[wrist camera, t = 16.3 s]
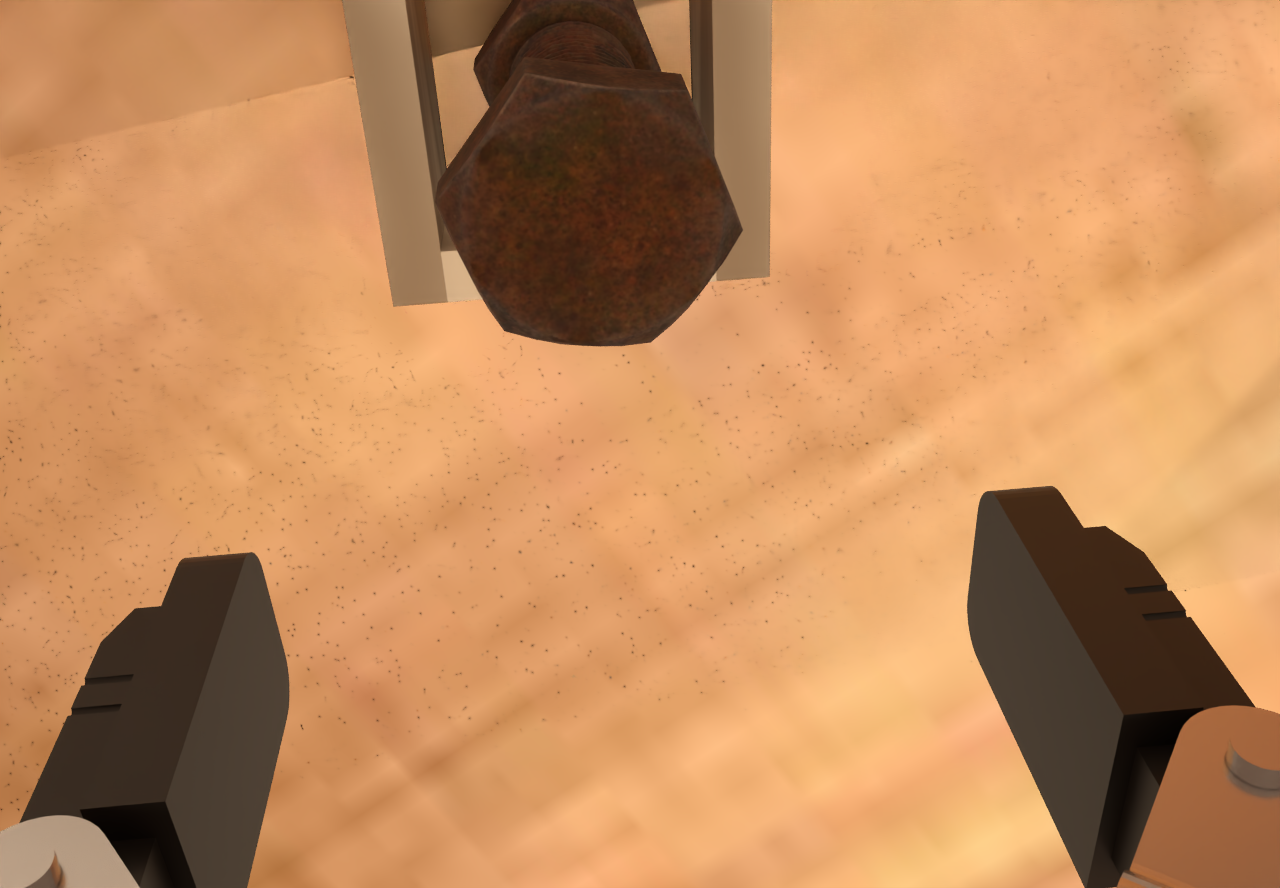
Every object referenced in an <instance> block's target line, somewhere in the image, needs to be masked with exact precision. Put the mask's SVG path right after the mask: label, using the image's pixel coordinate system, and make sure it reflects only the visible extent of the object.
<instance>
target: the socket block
mask: <svg viewBox="0 0 1280 888" xmlns="http://www.w3.org/2000/svg"><path fill="white" fill-rule="evenodd" d="M342 3H343V9H344V15H345V21H346V27H347V33H348V39H349V45H350V51H351V57H352V63H353V69H354V75H355V81H356V87H357V93H358V99H359V104H360V110H361V116H362V122H363V128H364V134H365V140H366V146H367V152H368V158H369V164H370V170H371V176H372V182H373V188H374V194H375V200H376V206H377V212H378V218H379V224H380V230H381V235H382V241H383V247H384V253H385V259H386V265H387V271H388V277H389V283H390V289H391V295H392V301H393V307H395V306H407V305H420V304H433V303H445V302H458V301H471V300H483V299H482V297H481V296H480V294H479V292H478V291H477V289H476V287H475V285H474V283H473V281H472V279H471V277H470V275H469V273H468V271H467V269H466V267H465V265H464V263H463V261H462V259H461V258H460V256H459V254H458V252H457V250H456V248H455V246H454V244H453V242H452V240H451V238H450V236H449V234H448V232H447V229H446V227H445V224H444V222H443V220H442V217H441V215H440V213H439V210H438V208H437V206H436V203H435V198H436V191H437V184H438V181H439V180H440V178H441V177H442V175H443V174H444V172H445V171H446V169H447V166H446V159H445V151H444V144H443V136H442V129H441V122H440V114H439V107H438V99H437V92H436V84H435V77H434V69H433V62H432V54H431V47H430V39H429V32H428V25H427V17H426V10H425V2H424V0H342ZM689 11H690V51H691V91H692V101H693V104H694V106H695V109H696V111H697V113H698V116H699V118H700V121H701V123H702V126H703V128H704V131H705V133H706V136H707V138H708V141H709V143H710V146H711V148H712V151H713V153H714V156H715V158H716V161H717V164H718V166H719V169H720V171H721V174H722V176H723V179H724V181H725V184H726V186H727V189H728V191H729V194H730V196H731V199H732V201H733V204H734V206H735V209H736V212H737V215H738V217H739V220H740V223H741V226H742V228H743V231H742V233H741V235H740V236H739V238H738V240H737V241H736V243H735V245H734V246H733V248H732V250H731V251H730V253H729V255H728V256H727V258H726V260H725V261H724V262H723V264H722V265H721V266H720V268H719V269H718V270H717V272H716V273H715V274H714V276H713V277H712V278H711V280H710V281H709V282H712V281H725V280H738V279H750V278H763V277H770V180H771V71H772V0H689Z"/></svg>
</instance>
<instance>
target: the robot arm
mask: <svg viewBox="0 0 1280 888" xmlns="http://www.w3.org/2000/svg"><path fill="white" fill-rule="evenodd" d="M967 613H968V625H969V631H970V636H971V641H972V645H973V648H974V651H975V654H976V656H977V659H978V661H979V663H980V665H981V667H982V669H983V671H984V674H985V676H986V678H987V680H988V682H989V684H990V686H991V688H992V691H993V693H994V695H995V697H996V699H997V701H998V703H999V706H1000V708H1001V710H1002V712H1003V714H1004V716H1005V718H1006V721H1007V723H1008V725H1009V727H1010V729H1011V731H1012V733H1013V735H1014V738H1015V740H1016V742H1017V744H1018V746H1019V748H1020V750H1021V753H1022V755H1023V757H1024V759H1025V761H1026V763H1027V765H1028V768H1029V770H1030V772H1031V774H1032V776H1033V778H1034V780H1035V782H1036V785H1037V787H1038V789H1039V791H1040V793H1041V795H1042V797H1043V800H1044V802H1045V804H1046V806H1047V808H1048V810H1049V812H1050V815H1051V817H1052V819H1053V821H1054V823H1055V825H1056V827H1057V830H1058V832H1059V834H1060V836H1061V838H1062V840H1063V842H1064V844H1065V847H1066V849H1067V851H1068V853H1069V855H1070V857H1071V859H1072V862H1073V864H1074V866H1075V868H1076V870H1077V872H1078V874H1079V877H1080V879H1081V881H1082V883H1083V885H1084V887H1085V888H1113V887H1117V888H1280V714H1278V713H1275V712H1272V711H1268V710H1264V709H1261V708H1256V707H1255V706H1254V704H1253V703H1252V702H1251V700H1250V699H1249V697H1248V696H1247V695H1246V693H1245V692H1244V690H1243V689H1242V688H1241V686H1240V685H1239V684H1238V682H1237V681H1236V679H1235V678H1234V677H1233V675H1232V674H1231V672H1230V671H1229V670H1228V668H1227V667H1226V665H1225V664H1224V663H1223V661H1222V660H1221V659H1220V657H1219V656H1218V654H1217V653H1216V652H1215V650H1214V649H1213V647H1212V646H1211V645H1210V643H1209V642H1208V641H1207V639H1206V638H1205V636H1204V635H1203V634H1202V632H1201V631H1200V629H1199V628H1198V627H1197V625H1196V624H1195V622H1194V621H1193V620H1192V618H1191V617H1187V616H1186V610H1185V609H1184V607H1183V606H1182V604H1181V603H1180V602H1179V600H1178V599H1177V597H1176V596H1175V595H1174V593H1173V592H1172V591H1168V590H1167V584H1166V582H1165V581H1164V579H1163V578H1162V577H1161V575H1160V574H1159V573H1158V571H1157V570H1156V568H1155V567H1154V566H1153V564H1152V563H1151V561H1150V560H1149V559H1148V557H1147V556H1146V554H1145V553H1144V552H1143V551H1141V550H1140V549H1138V548H1137V547H1135V546H1134V545H1132V544H1131V543H1129V542H1128V541H1127V540H1125V539H1124V538H1122V537H1121V536H1119V535H1118V534H1116V533H1115V532H1113V531H1112V530H1110V529H1109V528H1108V527H1106V526H1101V527H1090V528H1083V526H1082V525H1081V523H1080V522H1079V520H1078V519H1077V517H1076V516H1075V514H1074V513H1073V511H1072V510H1071V508H1070V507H1069V505H1068V504H1067V502H1066V501H1065V499H1064V498H1063V496H1062V495H1061V493H1060V492H1059V491H1058V490H1057V489H1056V488H1055V487H1053V486H1045V487H1033V488H1022V489H1010V490H998V491H987V492H985V493H984V494H983V495H982V497H981V499H980V503H979V507H978V514H977V523H976V531H975V540H974V548H973V557H972V566H971V574H970V583H969V591H968V602H967ZM288 708H289V674H288V667H287V661H286V656H285V652H284V649H283V645H282V641H281V637H280V634H279V630H278V626H277V622H276V618H275V615H274V611H273V607H272V603H271V599H270V596H269V592H268V588H267V584H266V581H265V577H264V573H263V569H262V566H261V563H260V561H259V559H258V557H257V556H256V555H255V554H254V553H252V552H251V553H239V554H227V555H216V556H204V557H192V558H184V559H182V560H181V561H180V562H179V564H178V566H177V568H176V571H175V573H174V576H173V578H172V581H171V583H170V586H169V588H168V591H167V593H166V596H165V598H164V601H163V603H162V606H159V607H147V608H136V609H134V610H133V611H132V612H131V613H130V614H129V615H128V616H127V617H126V618H125V619H124V620H123V621H122V622H121V623H120V624H119V625H118V626H117V627H116V628H115V629H114V630H113V631H112V632H111V633H110V634H109V635H108V636H107V637H106V638H105V639H104V640H103V641H102V642H101V643H100V646H99V648H98V650H97V652H96V654H95V657H94V659H93V661H92V663H91V665H90V668H89V670H88V672H87V674H86V677H85V685H84V686H81V688H80V690H79V692H78V694H77V697H76V699H75V701H74V703H73V705H72V708H71V709H72V715H71V716H68V717H67V719H66V721H65V723H64V725H63V728H62V730H61V732H60V734H59V736H58V739H57V741H56V743H55V745H54V748H53V750H52V752H51V754H50V756H49V759H48V761H47V763H46V765H45V768H44V770H43V772H42V774H41V776H40V779H39V781H38V783H37V785H36V788H35V790H34V792H33V794H32V796H31V799H30V801H29V803H28V805H27V807H26V810H25V812H24V814H23V816H22V819H21V821H20V823H19V824H16V825H13V826H11V827H9V828H7V829H5V830H3V831H1V832H0V888H247V885H248V881H249V877H250V873H251V868H252V864H253V860H254V856H255V851H256V847H257V843H258V839H259V834H260V830H261V826H262V822H263V817H264V813H265V809H266V805H267V800H268V796H269V792H270V788H271V783H272V779H273V775H274V771H275V766H276V762H277V758H278V754H279V749H280V745H281V741H282V737H283V732H284V728H285V724H286V720H287V715H288Z"/></svg>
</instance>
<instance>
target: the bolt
mask: <svg viewBox="0 0 1280 888" xmlns="http://www.w3.org/2000/svg"><path fill="white" fill-rule="evenodd" d="M474 72H475V75H476V77H477V79H478V82H479V84H480V87H481V89H482V91H483V94H484V96H485V98H486V100H487V102H488V105H489V109H488V110H487V112H486V113H485V115H484V116H483V117H482V119H481V120H480V122H479V123H478V125H477V126H476V128H475V129H474V130H473V132H472V133H471V135H470V136H469V138H468V139H467V141H466V142H465V143H464V145H463V146H462V148H461V149H460V151H459V152H458V154H457V155H456V156H455V158H454V159H453V161H452V162H451V164H450V165H449V167H448V168H447V169H446V171H445V172H444V174H443V175H442V177H441V178H440V180H439V181H438V184H437V191H436V198H435V203H436V206H437V208H438V210H439V213H440V215H441V217H442V220H443V222H444V224H445V227H446V229H447V232H448V234H449V236H450V238H451V240H452V242H453V244H454V246H455V248H456V250H457V252H458V254H459V256H460V258H461V259H462V261H463V263H464V265H465V267H466V269H467V271H468V273H469V275H470V277H471V279H472V281H473V283H474V285H475V287H476V289H477V291H478V292H479V294H480V296H481V297H482V299H483V301H484V302H485V304H486V305H487V307H488V309H489V310H490V312H491V313H492V315H493V316H494V317H495V319H496V320H497V321H498V323H499V324H500V326H501V327H502V328H503V330H504V331H506V332H510V333H514V334H517V335H521V336H525V337H529V338H532V339H536V340H542V341H547V342H553V343H558V344H567V345H581V346H625V345H633V344H642V343H650V342H652V341H653V340H654V339H655V338H656V337H658V336H659V335H660V334H661V333H662V332H664V331H665V330H666V329H667V328H668V327H670V326H671V325H672V324H673V323H674V322H675V321H676V320H677V319H678V318H679V317H680V316H681V315H682V314H683V313H684V312H685V311H686V310H687V309H688V308H689V306H690V305H691V304H692V303H693V301H694V300H695V299H696V298H697V296H698V295H699V294H700V293H701V291H702V290H703V289H704V287H705V286H706V285H707V284H708V282H709V281H710V280H711V278H712V277H713V276H714V274H715V273H716V272H717V270H718V269H719V268H720V266H721V265H722V264H723V262H724V261H725V260H726V258H727V256H728V255H729V253H730V251H731V250H732V248H733V246H734V245H735V243H736V241H737V240H738V238H739V236H740V235H741V233H742V231H743V228H742V226H741V223H740V220H739V217H738V215H737V212H736V209H735V206H734V204H733V201H732V199H731V196H730V194H729V191H728V189H727V186H726V184H725V181H724V179H723V176H722V174H721V171H720V169H719V166H718V164H717V161H716V158H715V156H714V153H713V151H712V148H711V146H710V143H709V141H708V138H707V136H706V133H705V131H704V128H703V126H702V123H701V121H700V118H699V116H698V113H697V111H696V109H695V106H694V104H693V101H692V99H691V97H690V94H689V92H688V89H687V87H686V85H685V82H684V80H683V77H682V75H681V74H676V73H667V72H661V69H660V67H659V64H658V62H657V59H656V57H655V54H654V52H653V49H652V47H651V44H650V42H649V39H648V37H647V34H646V32H645V30H644V27H643V25H642V22H641V20H640V17H639V15H638V12H637V10H636V7H635V5H634V2H633V0H513V1H512V2H511V4H510V5H509V6H508V8H507V9H506V11H505V12H504V14H503V15H502V16H501V18H500V20H499V21H498V23H497V24H496V26H495V27H494V29H493V30H492V32H491V33H490V35H489V36H488V38H487V40H486V41H485V43H484V45H483V46H482V48H481V50H480V51H479V53H478V55H477V56H476V58H475V61H474Z"/></svg>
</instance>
